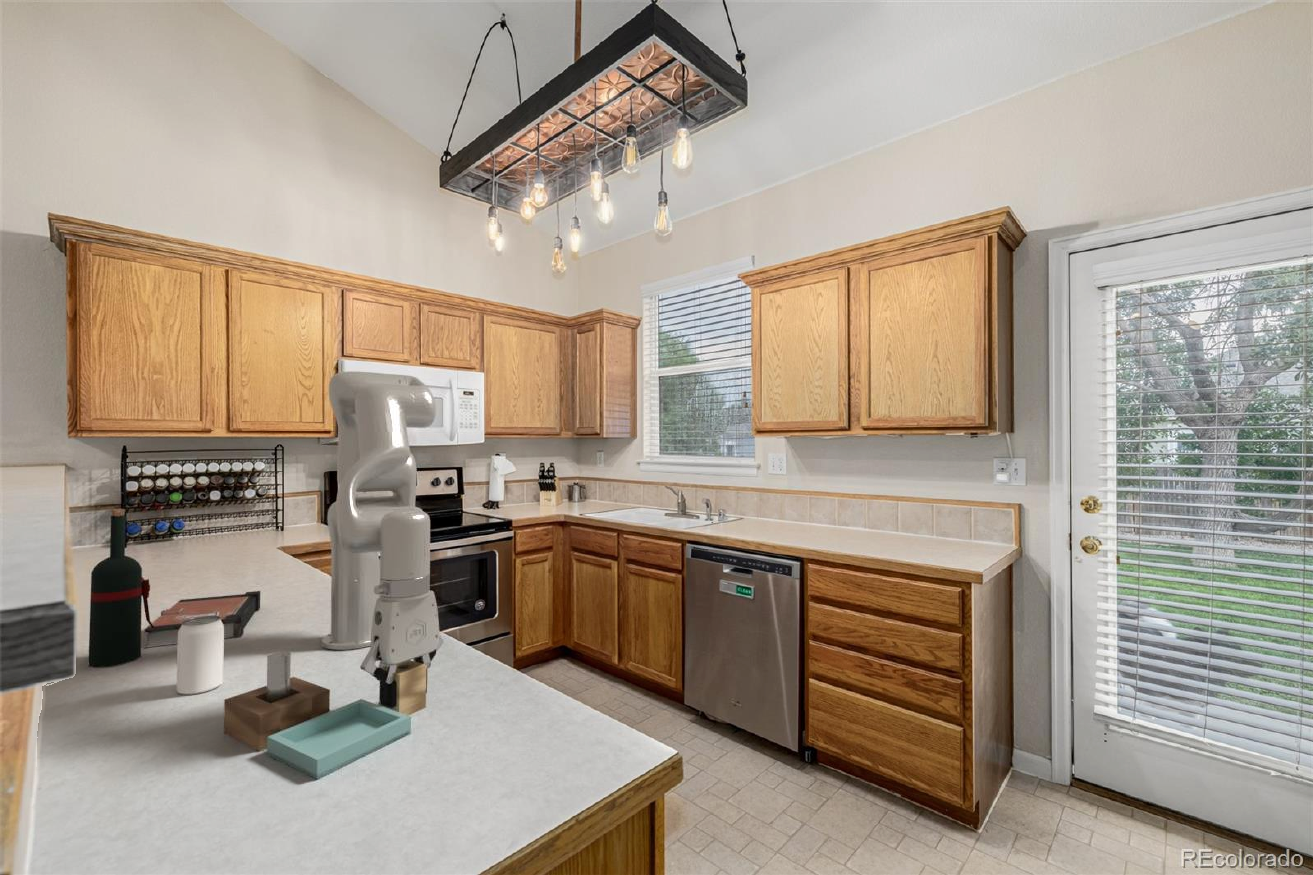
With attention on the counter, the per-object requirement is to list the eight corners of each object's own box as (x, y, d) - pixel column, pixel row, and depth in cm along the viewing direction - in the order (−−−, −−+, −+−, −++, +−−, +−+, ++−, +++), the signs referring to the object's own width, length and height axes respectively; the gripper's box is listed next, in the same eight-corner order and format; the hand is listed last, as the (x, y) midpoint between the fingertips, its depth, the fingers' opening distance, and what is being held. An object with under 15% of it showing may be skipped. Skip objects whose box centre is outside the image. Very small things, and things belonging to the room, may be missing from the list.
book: (176, 618, 145) (176, 598, 145) (260, 609, 153) (260, 590, 153) (139, 651, 122) (140, 627, 122) (240, 639, 130) (241, 617, 130)
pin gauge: (282, 714, 90) (283, 650, 91) (293, 719, 89) (294, 653, 89) (262, 722, 88) (263, 656, 88) (272, 727, 86) (273, 660, 87)
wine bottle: (162, 654, 119) (165, 508, 119) (95, 670, 110) (99, 512, 111) (146, 647, 123) (149, 505, 123) (81, 662, 114) (84, 510, 115)
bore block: (293, 707, 95) (293, 676, 95) (329, 721, 90) (329, 689, 90) (223, 733, 87) (224, 699, 87) (259, 751, 82) (260, 715, 82)
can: (197, 697, 99) (198, 626, 99) (166, 694, 100) (168, 624, 100) (232, 682, 105) (233, 616, 105) (202, 679, 106) (204, 613, 107)
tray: (361, 714, 93) (361, 699, 93) (410, 733, 87) (410, 716, 87) (267, 754, 81) (267, 736, 81) (317, 779, 75) (317, 760, 75)
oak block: (405, 700, 98) (406, 658, 98) (425, 707, 96) (426, 664, 96) (379, 712, 94) (379, 668, 94) (399, 719, 91) (399, 674, 91)
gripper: (371, 601, 86) (370, 725, 85) (462, 579, 101) (461, 685, 100) (341, 595, 90) (339, 714, 89) (432, 575, 104) (432, 677, 104)
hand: (404, 697), depth 95 cm, fingers closed on oak block, 5 cm apart
